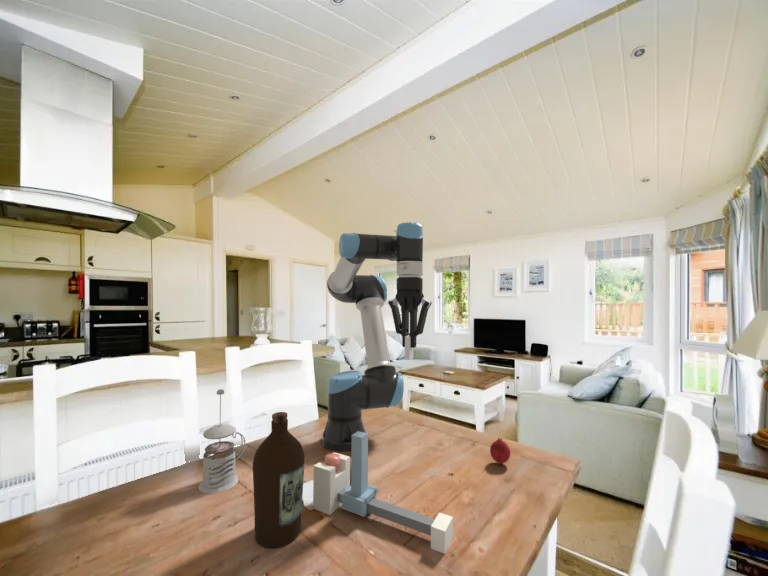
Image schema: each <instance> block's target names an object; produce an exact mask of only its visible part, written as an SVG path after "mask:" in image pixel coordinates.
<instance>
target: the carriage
mask: <svg viewBox="0 0 768 576" xmlns="http://www.w3.org/2000/svg"><path fill="white" fill-rule="evenodd" d="M365 432H366V431H365ZM365 432H360V431H357V432H356V433H354V434H353V435H352V446H351V450H350V451H351V456H350V458H351V476H350V486H349V487H348V488H347V489H346V490H345V491H344V492H342V493H341V499H342V505H341V509H342V510H345V511H346V512H347V511H348V512H350V513H353V514H356V515H358V516H361V517H366V516H367V503H368V502H369V501H370V500H371V499H372V498H374V499H377V493H378V487H377V486H374V485H371V484H369V433H368V432H366V433H365Z"/></svg>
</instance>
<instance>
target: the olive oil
mask: <svg viewBox="0 0 768 576" xmlns="http://www.w3.org/2000/svg"><path fill="white" fill-rule="evenodd" d="M288 424H289V420H288V413H287V412H284V411H279V412H278V411H277V412H275V413H272V414H271V432H270V433H269V434H268V436H267V437H266V438H264V440H263V441H262V443H260V444H259V445H258V447H257V449H256V450H255V453H254V456H253V459H252V479H253V480H252V481H253V482H252V483H253V508H254V510H253V513H254V539H255V541H256V544H258V545H259V546H260V547H263V548H267V549H275V548H280V547H283V546H286V545H288V544H290V543H292V542H293V541H294V540H296V539H297V538H298V537H299V535H300V533H301V530H302V515H303V514H302V512H303V511H304V500H303V496H304V495H303V492H304V478H305V477H304V476H305V465H306V464H305V463H306V460H305V457H306V456H305V450H304V448H303V446H302V443H301V442H300V441H299V440H298V439H297V438H296V437H295V436H294V435H293V434H292V433H291V432H290V431H289V430H288V429H289V428H288V427H289V426H288Z"/></svg>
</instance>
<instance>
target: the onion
mask: <svg viewBox="0 0 768 576" xmlns="http://www.w3.org/2000/svg"><path fill="white" fill-rule="evenodd" d="M497 438H498V439H497V440H496V439H495V440H494V441H493V442H492V443H491V445H490V448H489V449H490V450H489V452H490V456H491V458H492V459H493V461H495V462H496V463H497V464H498V465H503V464H505V463H507V462H508V461H509V459H510V458H511V448H510V446H509V445H508V443H506V441H504V440H503V437H501V436H499V437H497Z"/></svg>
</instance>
